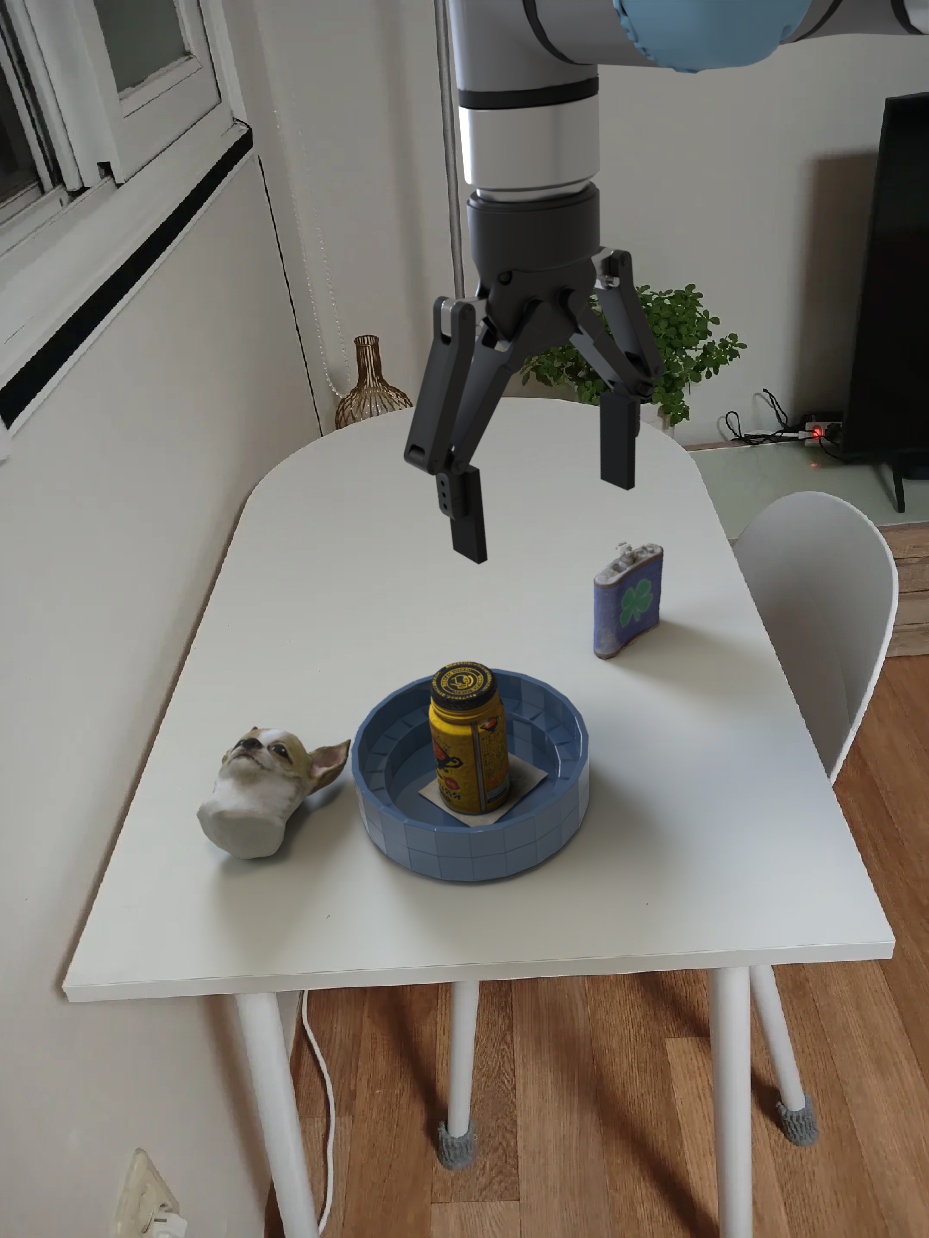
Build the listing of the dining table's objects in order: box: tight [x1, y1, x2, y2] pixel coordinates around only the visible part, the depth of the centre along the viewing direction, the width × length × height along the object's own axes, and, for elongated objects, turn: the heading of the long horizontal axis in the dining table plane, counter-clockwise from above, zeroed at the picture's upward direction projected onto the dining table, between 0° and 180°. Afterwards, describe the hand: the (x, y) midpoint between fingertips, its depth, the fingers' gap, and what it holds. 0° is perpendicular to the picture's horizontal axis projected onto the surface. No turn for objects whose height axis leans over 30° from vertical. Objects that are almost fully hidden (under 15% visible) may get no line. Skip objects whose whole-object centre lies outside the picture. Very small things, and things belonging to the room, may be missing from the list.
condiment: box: [418, 661, 549, 827], centre depth 77 cm, size 7×8×12 cm
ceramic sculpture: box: [195, 725, 352, 860], centre depth 79 cm, size 11×9×15 cm
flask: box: [593, 541, 665, 660], centre depth 94 cm, size 9×3×11 cm, turn 133°
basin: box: [350, 667, 590, 882], centre depth 79 cm, size 19×19×6 cm
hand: (547, 518), depth 65 cm, fingers open, 13 cm apart
